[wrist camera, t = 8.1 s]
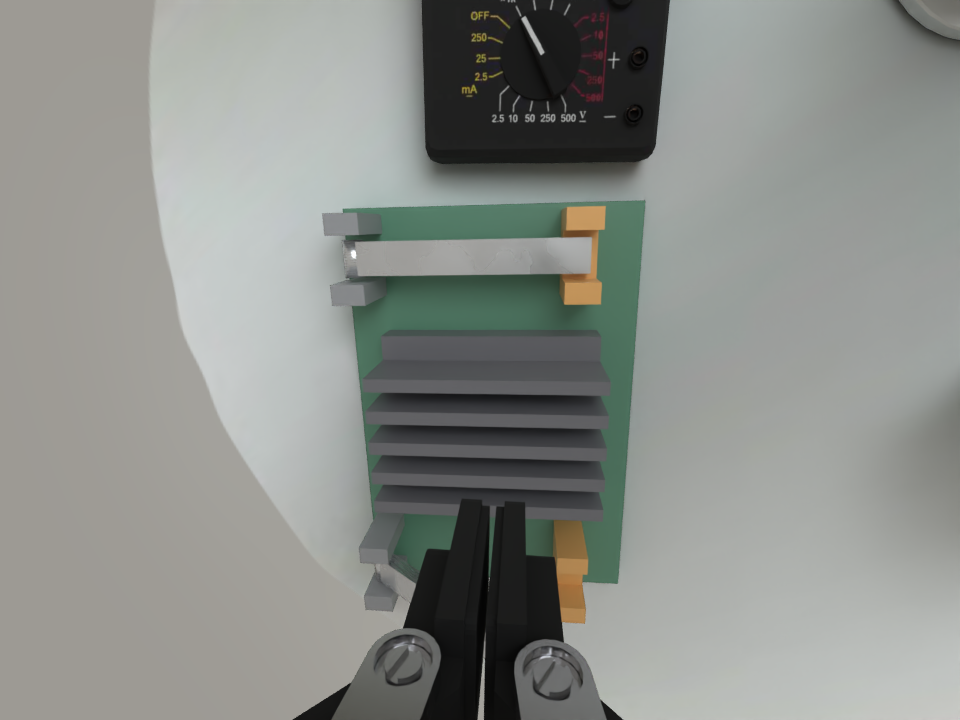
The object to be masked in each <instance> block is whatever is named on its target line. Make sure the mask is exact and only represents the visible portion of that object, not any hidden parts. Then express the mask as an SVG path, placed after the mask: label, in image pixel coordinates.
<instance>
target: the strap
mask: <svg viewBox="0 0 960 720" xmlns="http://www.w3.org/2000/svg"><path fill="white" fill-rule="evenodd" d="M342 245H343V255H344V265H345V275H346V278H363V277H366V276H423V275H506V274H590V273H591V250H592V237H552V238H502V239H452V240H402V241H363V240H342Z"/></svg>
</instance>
